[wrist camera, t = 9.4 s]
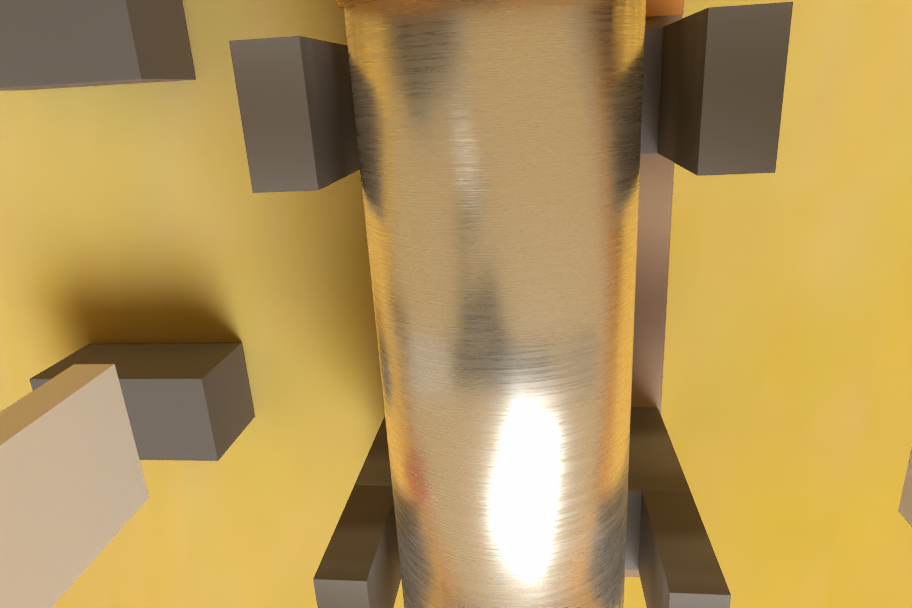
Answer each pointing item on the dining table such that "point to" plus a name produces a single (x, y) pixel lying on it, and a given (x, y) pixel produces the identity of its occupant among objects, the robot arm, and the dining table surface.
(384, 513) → the dark grey notched piece
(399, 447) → the silver metal cylinder
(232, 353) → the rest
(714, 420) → the dining table surface
